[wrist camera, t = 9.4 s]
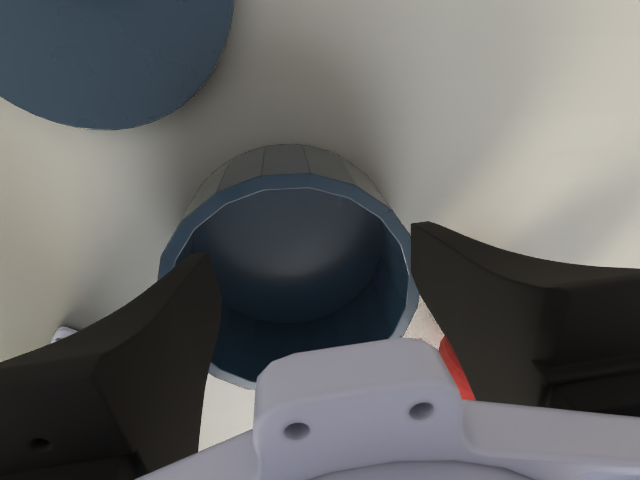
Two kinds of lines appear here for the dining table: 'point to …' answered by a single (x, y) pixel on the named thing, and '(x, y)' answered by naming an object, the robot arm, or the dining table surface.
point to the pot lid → (108, 57)
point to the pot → (296, 257)
